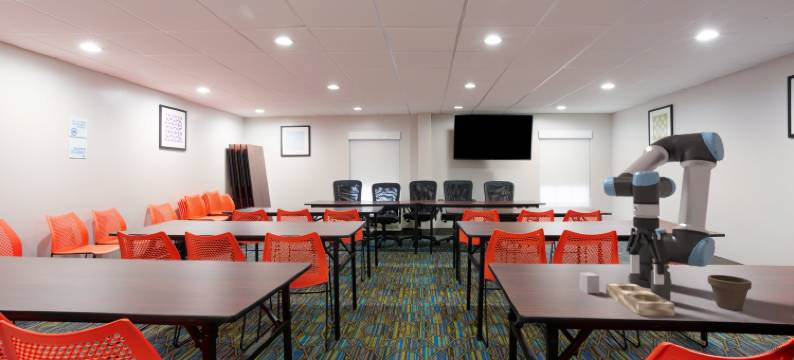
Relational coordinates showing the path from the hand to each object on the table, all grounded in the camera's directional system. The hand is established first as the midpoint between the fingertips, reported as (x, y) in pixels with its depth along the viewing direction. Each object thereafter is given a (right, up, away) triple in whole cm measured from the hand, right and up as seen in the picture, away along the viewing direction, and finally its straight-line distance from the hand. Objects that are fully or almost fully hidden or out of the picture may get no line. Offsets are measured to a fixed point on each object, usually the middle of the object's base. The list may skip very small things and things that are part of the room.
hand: (646, 278), depth 127 cm
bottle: (+11, -11, +9) cm, 18 cm away
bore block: (0, -11, +6) cm, 12 cm away
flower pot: (+30, -11, +2) cm, 32 cm away
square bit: (-9, -11, +20) cm, 25 cm away
